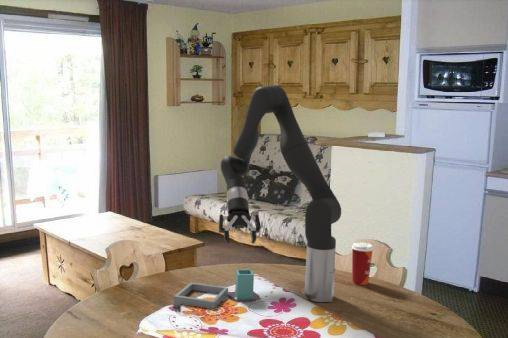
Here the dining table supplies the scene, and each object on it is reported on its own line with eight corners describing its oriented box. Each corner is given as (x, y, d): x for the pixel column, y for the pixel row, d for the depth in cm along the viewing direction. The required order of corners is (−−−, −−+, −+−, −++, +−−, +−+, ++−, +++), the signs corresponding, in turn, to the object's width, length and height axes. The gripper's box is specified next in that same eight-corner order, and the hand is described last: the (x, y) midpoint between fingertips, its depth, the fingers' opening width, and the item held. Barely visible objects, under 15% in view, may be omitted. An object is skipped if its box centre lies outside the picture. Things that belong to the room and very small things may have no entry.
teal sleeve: (250, 293, 163) (251, 269, 162) (252, 299, 159) (253, 274, 158) (235, 293, 163) (236, 269, 162) (237, 299, 158) (237, 274, 157)
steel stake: (256, 294, 166) (257, 275, 166) (262, 306, 157) (262, 286, 156) (226, 295, 165) (227, 276, 164) (229, 307, 155) (230, 287, 154)
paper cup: (373, 286, 178) (375, 248, 176) (351, 285, 178) (353, 247, 177) (368, 279, 186) (371, 242, 184) (347, 278, 186) (350, 241, 184)
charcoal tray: (227, 298, 163) (228, 287, 162) (213, 313, 150) (214, 302, 150) (190, 292, 166) (190, 282, 166) (173, 307, 154) (173, 296, 153)
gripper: (218, 196, 176) (220, 237, 166) (259, 196, 178) (263, 236, 168) (216, 208, 182) (218, 248, 172) (256, 208, 184) (260, 247, 174)
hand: (240, 242), depth 170 cm, fingers open, 8 cm apart
